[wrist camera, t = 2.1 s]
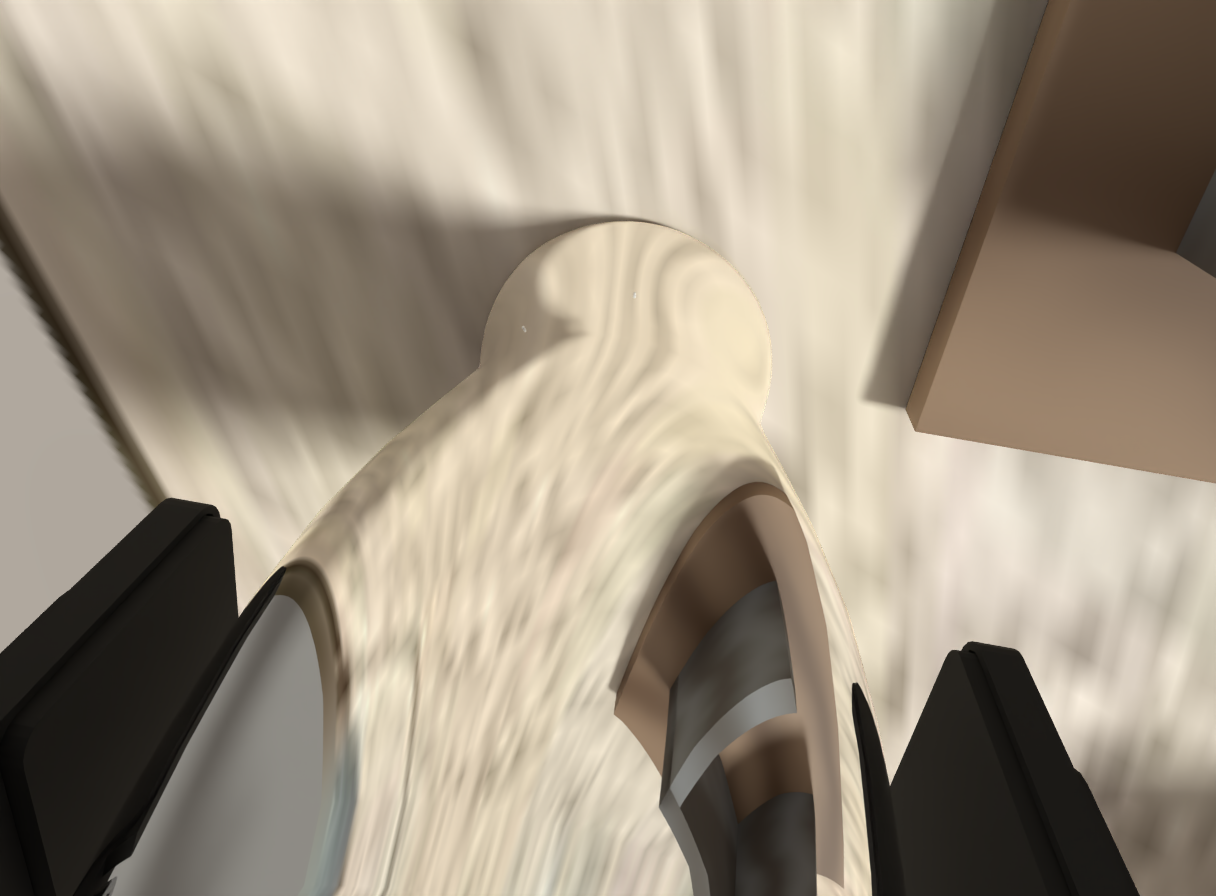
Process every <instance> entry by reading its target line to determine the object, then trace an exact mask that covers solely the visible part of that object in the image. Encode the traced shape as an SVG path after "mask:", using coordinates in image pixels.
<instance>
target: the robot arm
mask: <svg viewBox="0 0 1216 896" xmlns="http://www.w3.org/2000/svg"><path fill="white" fill-rule="evenodd" d="M237 620H238V606H237V593H236V580H235V567H234V554H233V541H232V529H231V524H230V522H229V520H227V519H223V518H220V514H219V511H218V509H217V508H216V507H215V506H213V505H209V504H204V503H198V502H192V501H187V500H181V499H176V498H168V499H165V500H164V501H163V502H161V503H160V504H159V505H158V506H157V507H156V508H155V509H154V510H153V511H152V512H151V513H150V514H148V515H147V516H146V517H145V518H144V519H143V520H142V521H141V522H140V523H139V524H138V525H137V526H136V527H135V528H134V529H133V530H132V531H131V532H130V533H129V534H128V535H126V537H124V538H123V539H122V540H121V541H120V542H119V543H118V544H117V545H116V546H115V547H114V548H113V549H112V550H111V551H110V552H109V553H108V554H107V555H106V556H105V557H103V558H102V559H101V560H100V561H99V562H98V563H97V564H96V565H95V566H94V567H93V568H92V569H91V570H90V571H89V572H88V573H87V574H86V575H85V576H84V577H83V578H81V580H80V581H78V582H77V583H76V584H75V585H74V586H73V587H72V588H71V589H70V590H69V591H67V592H66V593H64V594H63V595H62V596H60V597H59V598H58V599H57V600H56V601H55V602H54V603H53V604H52V605H51V606H50V607H49V608H48V609H47V610H46V611H45V612H43V613H42V614H41V615H40V616H39V617H38V618H37V619H36V620H35V621H34V622H33V623H32V624H31V625H30V626H29V627H28V628H27V629H25V630H24V632H22V633H21V634H20V635H19V636H18V637H17V638H16V639H15V640H14V641H13V642H12V643H11V644H10V645H9V646H8V647H7V648H6V649H4V650H3V651H2V652H1V653H0V896H72V895H73V893H74V891H75V890H76V888H77V886H78V884H79V882H80V881H81V879H82V877H83V875H84V873H85V872H86V870H87V868H88V866H89V864H90V863H91V861H92V859H93V857H94V856H95V854H96V852H97V850H98V848H99V847H100V845H101V843H102V841H103V839H104V838H105V836H106V834H107V832H108V830H109V829H110V827H111V825H112V823H113V822H114V820H115V818H116V816H117V814H118V813H119V811H120V809H121V808H122V806H123V804H124V802H125V801H126V799H127V797H128V796H129V794H130V792H131V791H132V789H133V787H134V785H135V784H136V782H137V780H138V779H139V777H140V775H141V774H142V772H143V770H144V769H145V767H146V765H147V763H148V762H149V760H150V758H151V757H152V755H153V753H154V752H155V750H156V748H157V746H158V745H159V743H160V741H161V740H162V738H163V736H164V735H165V733H166V731H167V729H168V728H169V726H170V724H171V723H172V721H173V719H174V718H175V716H176V714H177V713H178V711H179V709H180V707H181V706H182V704H183V703H184V701H185V699H186V698H187V696H188V694H189V693H190V691H191V690H192V688H193V687H194V685H195V684H196V682H197V681H198V679H199V678H200V676H201V675H202V673H203V672H204V670H205V669H206V667H207V665H208V664H209V662H210V661H211V659H212V658H213V656H214V655H215V653H216V652H217V650H218V649H219V647H220V646H221V644H222V643H223V641H224V639H225V638H226V636H227V635H228V633H229V632H230V630H231V629H232V627H233V626H234V624H235V623H236V621H237ZM890 791H891V796H892V802H893V808H894V813H895V819H896V824H897V830H898V835H899V841H900V847H901V855H902V863H903V870H904V878H905V886H906V894H907V896H1140V895H1139V893H1138V891H1137V889H1136V887H1135V885H1134V882H1133V880H1132V878H1131V876H1130V874H1129V872H1128V870H1127V868H1126V865H1125V863H1124V861H1123V859H1122V857H1121V855H1120V853H1119V850H1118V848H1117V846H1116V844H1115V842H1114V840H1113V838H1112V836H1111V833H1110V831H1109V829H1108V827H1107V825H1106V823H1105V821H1104V818H1103V816H1102V814H1101V812H1100V810H1099V808H1098V806H1097V804H1096V801H1095V799H1094V797H1093V795H1092V793H1091V791H1090V789H1089V786H1088V784H1087V783H1086V781H1085V780H1084V778H1083V776H1082V775H1081V773H1080V772H1078V771H1077V770H1076V769H1074V767H1073V765H1072V763H1071V760H1070V758H1069V756H1068V754H1067V752H1066V750H1065V747H1064V745H1063V743H1062V741H1061V739H1060V737H1059V734H1058V732H1057V730H1056V728H1055V726H1054V724H1053V721H1052V719H1051V717H1050V715H1049V713H1048V711H1047V708H1046V706H1045V704H1044V702H1043V700H1042V698H1041V695H1040V693H1039V691H1038V689H1037V687H1036V685H1035V682H1034V680H1033V678H1032V676H1031V674H1030V672H1029V669H1028V667H1027V665H1026V663H1025V661H1024V659H1023V657H1022V655H1021V654H1020V652H1019V651H1017V650H1015V649H1012V648H1007V647H1001V646H995V645H990V644H984V643H979V642H973V641H972V642H968V643H967V644H966V645H965V646H964V647H963V649H962V650H961V651H958V650H951V651H950V652H949V653H948V655H947V657H946V659H945V661H944V663H943V666H942V668H941V670H940V672H939V675H938V677H937V679H936V682H935V684H934V686H933V689H932V691H931V693H930V695H929V698H928V700H927V702H926V705H925V707H924V709H923V712H922V714H921V716H920V718H919V721H918V723H917V725H916V728H915V730H914V732H913V735H912V737H911V739H910V742H909V744H908V746H907V748H906V751H905V753H904V755H903V758H902V760H901V762H900V765H899V767H898V769H897V771H896V774H895V776H894V778H893V781H892V783H891V785H890Z"/></svg>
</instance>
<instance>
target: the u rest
mask: <svg viewBox="0 0 1216 896" xmlns="http://www.w3.org/2000/svg"><path fill="white" fill-rule="evenodd" d="M906 411H907V414H908V416H909V418H910V421H911V423H912V425H913V428H914V430H915V431H916V432H922V433H927V434H933V435H939V436H945V437H951V438H956V439H962V440H968V441H974V442H980V443H985V444H991V445H997V446H1003V447H1009V448H1014V449H1020V450H1026V451H1032V452H1038V453H1043V454H1049V455H1055V456H1061V457H1066V458H1072V459H1078V460H1084V461H1090V462H1095V463H1101V464H1107V465H1113V466H1119V467H1124V468H1130V469H1136V470H1142V471H1148V472H1153V473H1159V474H1165V475H1171V476H1177V477H1182V478H1188V479H1194V480H1200V481H1205V482H1211V483H1216V0H1049V1H1048V4H1047V7H1046V10H1045V13H1044V16H1043V19H1042V21H1041V24H1040V27H1039V30H1038V33H1037V36H1036V39H1035V41H1034V44H1033V47H1032V50H1031V53H1030V56H1029V59H1028V61H1027V64H1026V67H1025V70H1024V73H1023V76H1022V79H1021V81H1020V84H1019V87H1018V90H1017V93H1016V96H1015V98H1014V101H1013V104H1012V107H1011V110H1010V113H1009V116H1008V118H1007V121H1006V124H1005V127H1004V130H1003V133H1002V136H1001V138H1000V141H999V144H998V147H997V150H996V153H995V156H994V158H993V161H992V164H991V167H990V170H989V173H988V176H987V178H986V181H985V184H984V187H983V190H982V193H981V195H980V198H979V201H978V204H977V207H976V210H975V213H974V215H973V218H972V221H971V224H970V227H969V230H968V233H967V235H966V238H965V241H964V244H963V247H962V250H961V253H960V255H959V258H958V261H957V264H956V267H955V270H954V273H953V275H952V278H951V281H950V284H949V287H948V290H947V292H946V295H945V298H944V301H943V304H942V307H941V310H940V312H939V315H938V318H937V321H936V324H935V327H934V330H933V332H932V335H931V338H930V341H929V344H928V347H927V350H926V352H925V355H924V358H923V361H922V364H921V367H920V370H919V372H918V375H917V378H916V381H915V384H914V387H913V390H912V392H911V395H910V398H909V401H908V404H907V407H906Z"/></svg>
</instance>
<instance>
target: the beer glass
mask: <svg viewBox="0 0 1216 896" xmlns="http://www.w3.org/2000/svg"><path fill="white" fill-rule="evenodd" d="M771 376H772V347H771V339H770V334H769V329H768V326H767V322H766V319H765V316H764V313H763V311H762V309H761V306H760V304H759V302H758V300H757V298H756V296H755V295H754V293H753V291H752V290H751V288H750V287H749V285H748V284H747V282H746V281H745V280H744V278H743V277H742V276H741V275H740V274H739V272H738V271H737V270H736V269H735V268H734V267H733V266H732V265H731V264H730V263H729V262H728V261H727V260H726V259H724V258H723V257H722V256H721V255H720V254H718V253H717V252H716V251H715V250H713V249H712V248H710V247H709V246H707V245H706V244H704V243H703V242H701V241H699V240H697V239H695V238H693V237H692V236H689V235H687V234H685V233H683V232H680V231H677V230H675V229H672V228H669V227H665V226H661V225H657V224H652V223H646V222H637V221H611V222H603V223H596V224H592V225H587V226H584V227H580V228H577V229H574V230H571V231H569V232H566V233H564V234H562V235H559V236H557V237H555V238H553V239H552V240H550V241H548V242H546V243H545V244H543V245H542V246H540V247H539V248H537V249H536V250H535V251H533V252H532V253H531V254H530V255H529V256H527V257H526V258H525V259H524V260H523V261H522V262H521V263H520V264H519V266H518V267H517V268H516V269H515V270H514V271H513V273H512V274H511V275H510V276H509V278H508V279H507V281H506V282H505V284H504V285H503V287H502V289H501V290H500V292H499V294H498V296H497V298H496V300H495V302H494V304H493V307H492V309H491V311H490V314H489V317H488V319H487V323H486V327H485V331H484V336H483V341H482V348H481V356H480V365H479V368H477V369H476V370H475V371H474V372H473V373H472V374H471V375H469V376H468V377H467V378H466V379H464V380H463V381H462V382H461V383H459V384H458V385H457V386H456V387H454V388H453V389H452V390H451V391H449V392H448V393H447V394H446V395H444V396H443V397H442V398H440V399H439V400H438V401H437V402H436V403H434V404H433V405H432V406H431V407H430V408H428V409H427V410H426V411H425V412H424V413H422V414H421V415H420V416H419V417H418V418H416V419H415V420H414V421H413V422H412V423H411V424H409V425H408V426H407V427H406V428H405V429H403V430H402V431H401V432H400V433H399V434H397V435H396V436H395V437H394V438H393V439H391V440H390V441H389V442H388V443H387V444H386V445H385V446H384V447H383V448H382V449H381V450H380V451H379V452H378V453H377V454H376V455H375V456H374V457H373V458H372V459H371V460H370V461H369V462H368V463H367V464H366V465H365V466H363V467H362V468H361V469H360V470H359V471H358V472H357V473H356V474H355V475H354V476H353V477H352V478H351V479H350V480H349V481H348V482H347V483H346V484H345V485H344V486H343V487H342V488H341V489H340V490H339V491H338V492H337V493H336V494H335V495H334V496H333V497H332V498H331V499H330V500H329V501H328V502H327V503H326V504H325V505H324V507H323V508H322V509H321V510H320V511H319V512H318V513H317V515H316V516H315V517H314V518H313V520H312V521H311V522H310V523H309V525H308V526H307V527H306V529H305V530H304V531H303V532H302V534H301V535H300V536H299V538H298V539H297V540H296V541H295V543H294V544H293V545H292V547H291V548H290V549H289V550H288V552H287V553H286V554H285V556H284V557H283V558H282V559H281V561H280V562H279V563H278V565H277V566H276V567H275V568H274V570H273V571H272V572H271V574H270V575H269V576H268V578H267V579H266V580H265V581H264V583H263V584H262V585H261V587H260V588H259V589H258V590H257V592H256V593H255V594H254V596H253V597H252V599H251V600H250V601H249V603H248V604H247V606H246V607H245V609H244V610H243V612H242V614H241V615H240V617H239V618H238V620H237V621H236V623H235V624H234V626H233V627H232V629H231V630H230V632H229V633H228V635H227V636H226V638H225V639H224V641H223V643H222V644H221V646H220V647H219V649H218V650H217V652H216V653H215V655H214V656H213V658H212V659H211V661H210V662H209V664H208V665H207V667H206V669H205V670H204V672H203V673H202V675H201V676H200V678H199V679H198V681H197V682H196V684H195V685H194V687H193V688H192V690H191V691H190V693H189V694H188V696H187V698H186V699H185V701H184V703H183V704H182V706H181V707H180V709H179V711H178V713H177V714H176V716H175V718H174V719H173V721H172V723H171V724H170V726H169V728H168V729H167V731H166V733H165V735H164V736H163V738H162V740H161V741H160V743H159V745H158V746H157V748H156V750H155V752H154V753H153V755H152V757H151V758H150V760H149V762H148V763H147V765H146V767H145V769H144V770H143V772H142V774H141V775H140V777H139V779H138V780H137V782H136V784H135V785H134V787H133V789H132V791H131V792H130V794H129V796H128V797H127V799H126V801H125V802H124V804H123V806H122V808H121V809H120V811H119V813H118V814H117V816H116V818H115V820H114V822H113V823H112V825H111V827H110V829H109V830H108V832H107V834H106V836H105V838H104V839H103V841H102V843H101V845H100V847H99V848H98V850H97V852H96V854H95V856H94V857H93V859H92V861H91V863H90V864H89V866H88V868H87V870H86V872H85V873H84V875H83V877H82V879H81V881H80V882H79V884H78V886H77V888H76V890H75V891H74V893H73V895H72V896H907V894H906V886H905V878H904V870H903V863H902V855H901V847H900V841H899V835H898V830H897V824H896V819H895V813H894V808H893V802H892V796H891V791H890V785H889V780H888V774H887V769H886V763H885V758H884V752H883V747H882V741H881V735H880V730H879V725H878V721H877V717H876V713H875V709H874V706H873V702H872V698H871V694H870V690H869V687H868V683H867V679H866V675H865V672H864V668H863V664H862V660H861V656H860V653H859V649H858V645H857V641H856V637H855V634H854V630H853V626H852V622H851V619H850V616H849V613H848V610H847V608H846V605H845V603H844V600H843V598H842V595H841V593H840V590H839V588H838V586H837V583H836V581H835V578H834V576H833V573H832V571H831V569H830V566H829V564H828V561H827V559H826V556H825V554H824V552H823V549H822V547H821V544H820V542H819V539H818V537H817V534H816V532H815V530H814V528H813V526H812V524H811V521H810V519H809V518H808V516H807V514H806V512H805V510H804V508H803V506H802V504H801V502H800V500H799V498H798V496H797V494H796V492H795V490H794V488H793V486H792V484H791V482H790V480H789V478H788V476H787V474H786V472H785V471H784V469H783V467H782V465H781V463H780V461H779V459H778V458H777V456H776V454H775V452H774V450H773V448H772V446H771V445H770V443H769V441H768V439H767V437H766V435H765V433H764V431H763V429H762V427H761V424H760V423H761V419H762V416H763V413H764V410H765V406H766V402H767V398H768V394H769V389H770V383H771Z"/></svg>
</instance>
